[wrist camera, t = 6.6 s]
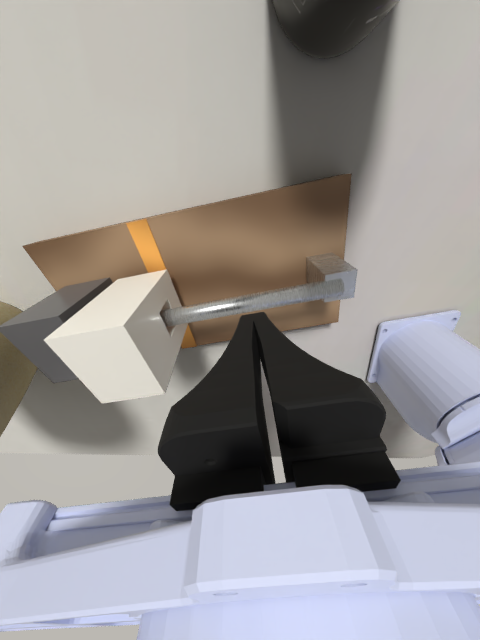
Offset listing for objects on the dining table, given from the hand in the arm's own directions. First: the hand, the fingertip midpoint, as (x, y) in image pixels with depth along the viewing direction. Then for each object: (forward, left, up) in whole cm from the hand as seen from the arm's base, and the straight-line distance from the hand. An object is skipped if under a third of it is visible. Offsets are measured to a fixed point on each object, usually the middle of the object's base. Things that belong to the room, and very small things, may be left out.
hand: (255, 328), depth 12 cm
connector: (0, +13, -7) cm, 15 cm away
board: (0, +4, -8) cm, 9 cm away
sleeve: (0, +8, -6) cm, 10 cm away
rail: (0, +3, -7) cm, 8 cm away
